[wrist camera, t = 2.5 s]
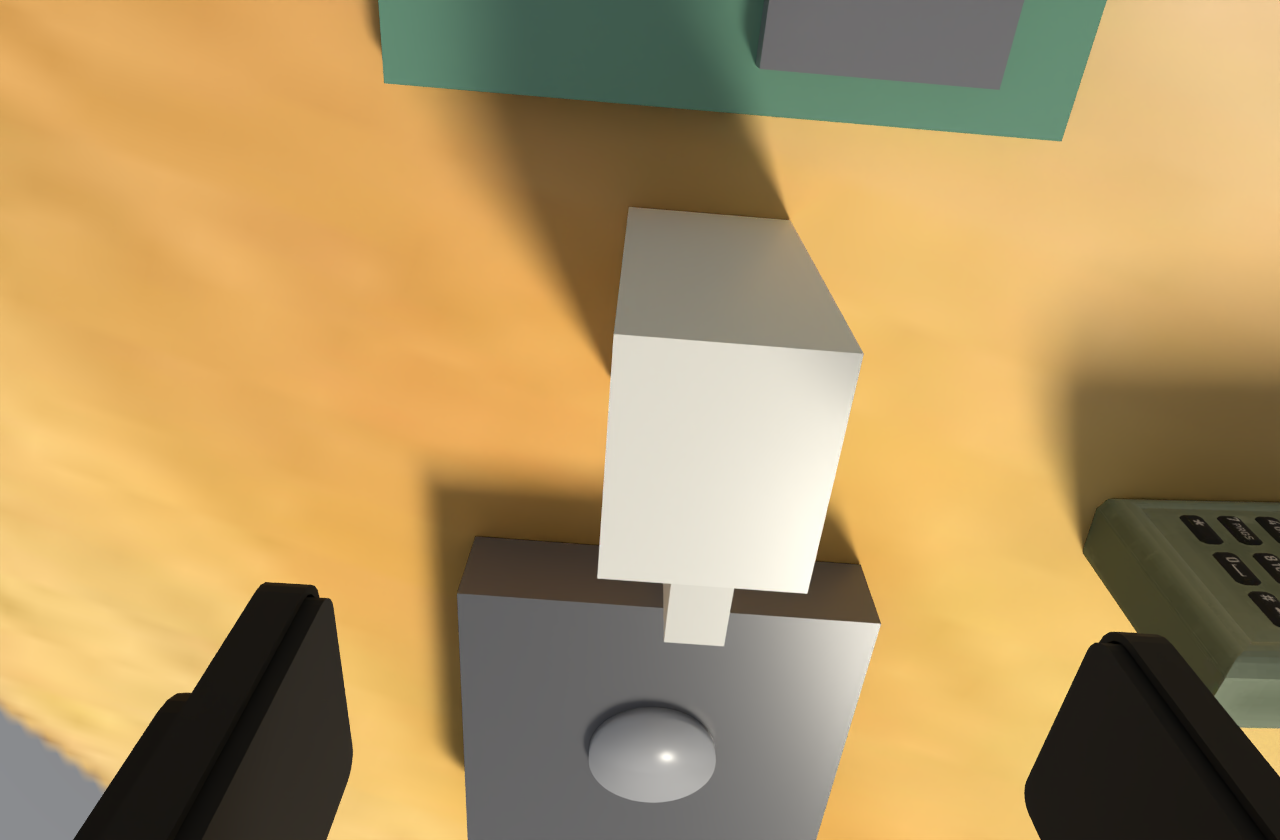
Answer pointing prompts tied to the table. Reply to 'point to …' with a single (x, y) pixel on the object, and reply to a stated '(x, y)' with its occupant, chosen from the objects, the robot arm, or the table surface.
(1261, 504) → the handheld radio
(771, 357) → the plug
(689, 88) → the board
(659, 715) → the gray dome slab
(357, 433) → the table surface
